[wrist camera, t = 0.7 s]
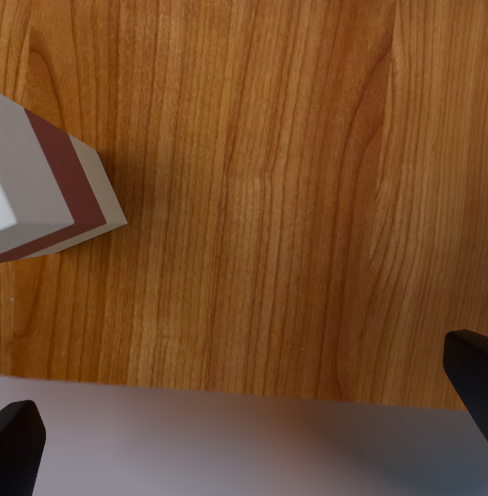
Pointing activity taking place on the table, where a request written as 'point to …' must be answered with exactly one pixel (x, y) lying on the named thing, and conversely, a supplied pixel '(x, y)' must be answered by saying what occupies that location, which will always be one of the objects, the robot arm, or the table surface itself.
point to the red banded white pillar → (49, 187)
